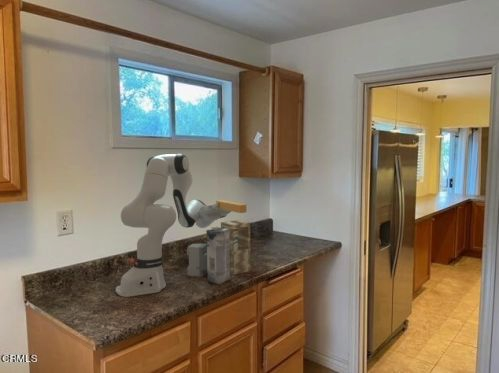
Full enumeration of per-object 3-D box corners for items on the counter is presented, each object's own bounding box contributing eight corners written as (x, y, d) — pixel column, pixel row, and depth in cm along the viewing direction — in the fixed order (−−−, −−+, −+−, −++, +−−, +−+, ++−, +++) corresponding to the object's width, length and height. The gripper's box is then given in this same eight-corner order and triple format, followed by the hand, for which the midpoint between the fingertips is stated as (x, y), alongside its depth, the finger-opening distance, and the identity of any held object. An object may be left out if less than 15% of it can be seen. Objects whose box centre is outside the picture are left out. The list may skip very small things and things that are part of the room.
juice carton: (232, 279, 187) (231, 225, 185) (219, 285, 178) (218, 229, 176) (217, 276, 191) (217, 224, 189) (204, 282, 183) (203, 227, 180)
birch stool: (231, 275, 194) (231, 225, 192) (221, 270, 202) (220, 222, 200) (250, 270, 201) (250, 222, 199) (240, 266, 209) (239, 219, 207)
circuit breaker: (214, 277, 190) (213, 248, 189) (187, 275, 193) (187, 246, 192) (218, 272, 198) (218, 244, 196) (192, 271, 201) (192, 243, 199)
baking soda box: (231, 254, 234) (231, 229, 233) (224, 252, 238) (224, 227, 237) (242, 251, 241) (242, 226, 239) (235, 250, 245) (235, 225, 244)
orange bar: (240, 213, 192) (239, 205, 191) (216, 207, 211) (215, 200, 211) (246, 212, 194) (246, 204, 194) (222, 207, 213) (222, 200, 213)
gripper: (194, 209, 215) (204, 199, 204) (225, 206, 226) (236, 197, 216) (197, 220, 212) (207, 210, 202) (228, 216, 224) (239, 207, 214)
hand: (222, 203), depth 209 cm, fingers closed on orange bar, 4 cm apart
